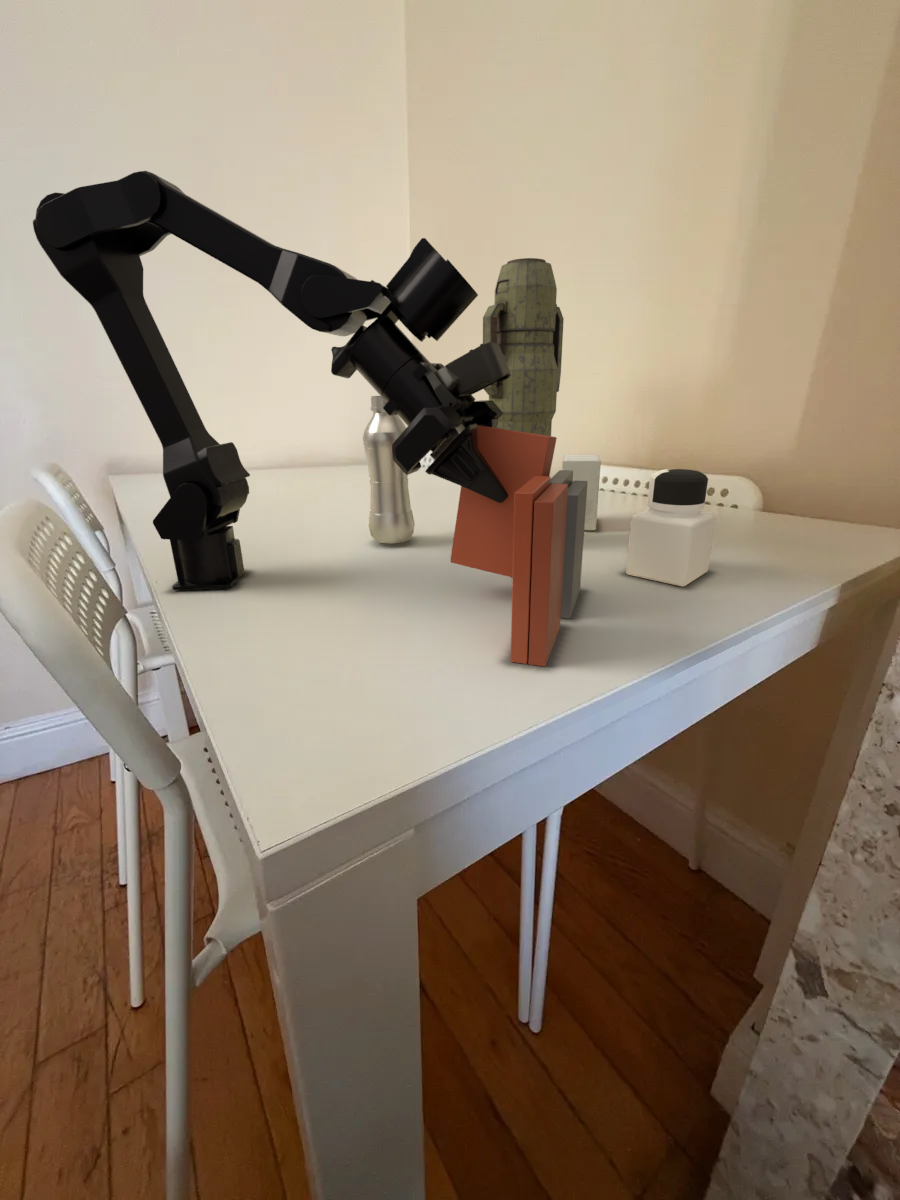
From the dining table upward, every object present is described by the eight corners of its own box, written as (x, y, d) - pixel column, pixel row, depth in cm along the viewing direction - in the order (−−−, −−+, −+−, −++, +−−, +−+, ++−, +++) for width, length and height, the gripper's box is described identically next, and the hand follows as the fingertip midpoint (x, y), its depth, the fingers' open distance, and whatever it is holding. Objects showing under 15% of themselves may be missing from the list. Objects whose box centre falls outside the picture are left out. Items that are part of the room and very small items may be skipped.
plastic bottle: (424, 539, 83) (419, 395, 76) (395, 551, 78) (387, 396, 71) (389, 534, 87) (381, 395, 80) (360, 544, 81) (349, 396, 74)
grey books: (540, 615, 56) (546, 482, 51) (553, 589, 63) (559, 470, 58) (570, 619, 55) (578, 484, 50) (579, 591, 62) (588, 470, 57)
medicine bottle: (708, 572, 67) (724, 469, 63) (684, 588, 63) (699, 478, 58) (651, 560, 72) (662, 464, 68) (624, 574, 67) (634, 471, 63)
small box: (595, 531, 86) (601, 460, 82) (558, 530, 87) (562, 460, 83) (594, 519, 94) (599, 454, 90) (559, 518, 95) (563, 453, 91)
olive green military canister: (466, 543, 81) (465, 262, 69) (523, 529, 88) (532, 272, 76) (511, 556, 75) (518, 249, 62) (568, 540, 82) (586, 261, 69)
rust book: (449, 562, 60) (469, 424, 55) (460, 557, 62) (479, 425, 58) (522, 580, 57) (549, 436, 53) (530, 574, 60) (556, 437, 55)
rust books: (510, 662, 47) (514, 492, 42) (529, 624, 54) (534, 475, 49) (545, 666, 46) (553, 494, 41) (560, 628, 53) (568, 476, 48)
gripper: (421, 297, 44) (556, 448, 45) (485, 319, 60) (583, 429, 61) (339, 405, 49) (461, 538, 50) (418, 398, 66) (509, 498, 66)
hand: (510, 495), depth 57 cm, fingers closed on rust book, 4 cm apart
